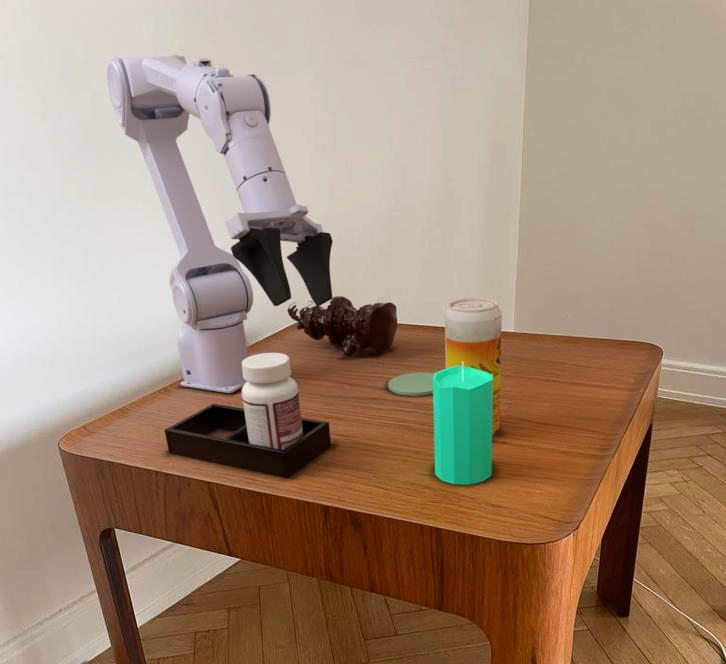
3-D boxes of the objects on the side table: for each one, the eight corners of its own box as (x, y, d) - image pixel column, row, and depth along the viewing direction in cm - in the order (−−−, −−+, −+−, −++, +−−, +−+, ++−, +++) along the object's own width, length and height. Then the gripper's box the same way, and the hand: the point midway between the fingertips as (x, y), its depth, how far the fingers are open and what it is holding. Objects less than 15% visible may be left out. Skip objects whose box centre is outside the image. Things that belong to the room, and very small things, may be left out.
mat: (377, 391, 101) (377, 388, 101) (404, 373, 107) (404, 370, 107) (431, 399, 97) (431, 395, 97) (455, 379, 103) (455, 376, 103)
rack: (168, 453, 87) (164, 429, 86) (217, 425, 94) (213, 403, 93) (287, 478, 80) (284, 452, 78) (331, 446, 86) (329, 422, 85)
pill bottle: (306, 442, 88) (295, 348, 82) (304, 465, 82) (293, 366, 77) (253, 446, 88) (240, 352, 82) (248, 469, 82) (233, 370, 77)
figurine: (390, 377, 116) (295, 367, 125) (409, 319, 119) (315, 313, 127) (364, 345, 108) (265, 337, 117) (385, 284, 110) (286, 281, 119)
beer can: (498, 443, 84) (500, 310, 77) (444, 441, 85) (441, 311, 78) (500, 422, 89) (502, 296, 82) (449, 421, 90) (447, 297, 84)
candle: (430, 462, 81) (427, 355, 75) (485, 456, 81) (486, 349, 75) (440, 487, 75) (437, 374, 70) (498, 481, 76) (500, 368, 70)
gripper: (242, 155, 73) (289, 285, 73) (327, 175, 85) (367, 287, 85) (196, 190, 77) (241, 314, 78) (283, 205, 89) (322, 312, 89)
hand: (304, 302), depth 82 cm, fingers open, 7 cm apart
